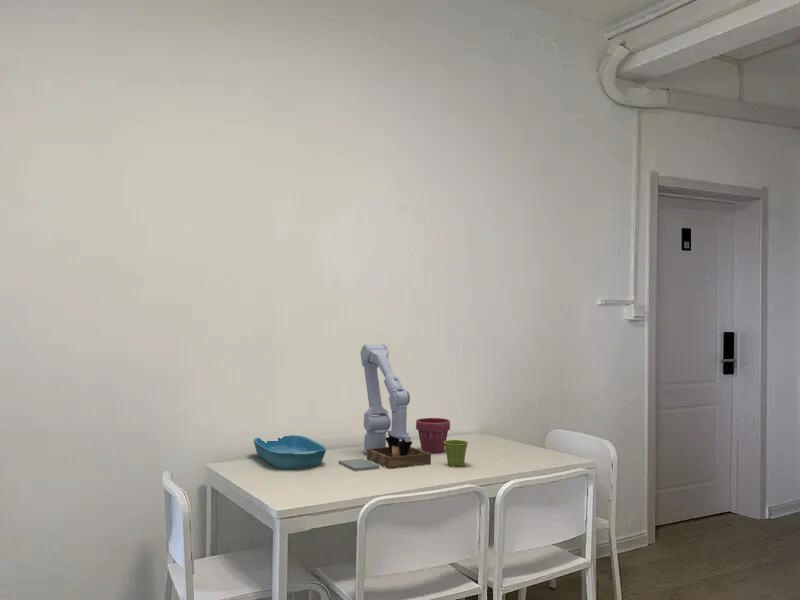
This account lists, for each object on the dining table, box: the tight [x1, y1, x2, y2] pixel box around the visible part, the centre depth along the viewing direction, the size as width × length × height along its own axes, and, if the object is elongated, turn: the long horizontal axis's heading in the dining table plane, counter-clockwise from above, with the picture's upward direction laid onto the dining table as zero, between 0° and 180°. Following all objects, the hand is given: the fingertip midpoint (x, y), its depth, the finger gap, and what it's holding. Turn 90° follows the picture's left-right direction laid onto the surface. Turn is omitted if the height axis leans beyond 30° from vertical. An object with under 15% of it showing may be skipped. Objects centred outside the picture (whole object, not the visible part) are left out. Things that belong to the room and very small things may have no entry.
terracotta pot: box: [392, 445, 400, 457], centre depth 279 cm, size 5×5×6 cm
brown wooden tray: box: [366, 445, 432, 469], centre depth 279 cm, size 18×18×4 cm
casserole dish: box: [253, 434, 327, 470], centre depth 278 cm, size 37×22×7 cm, turn 28°
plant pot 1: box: [415, 417, 451, 454], centre depth 300 cm, size 14×14×13 cm
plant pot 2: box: [444, 439, 469, 467], centre depth 275 cm, size 9×9×9 cm
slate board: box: [338, 458, 380, 472], centre depth 270 cm, size 14×10×1 cm
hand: (398, 457), depth 279 cm, fingers open, 7 cm apart
